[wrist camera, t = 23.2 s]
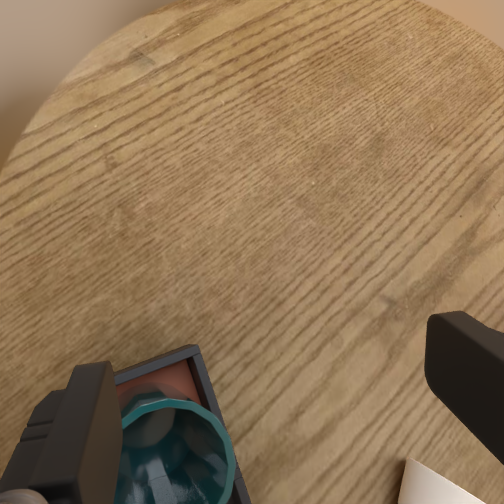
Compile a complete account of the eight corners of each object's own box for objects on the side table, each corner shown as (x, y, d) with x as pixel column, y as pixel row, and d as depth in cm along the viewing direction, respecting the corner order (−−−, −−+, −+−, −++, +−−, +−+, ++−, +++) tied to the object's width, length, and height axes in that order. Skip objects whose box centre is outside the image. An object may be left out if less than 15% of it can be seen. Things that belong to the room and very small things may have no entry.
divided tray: (63, 391, 29) (56, 397, 25) (189, 344, 32) (198, 344, 29) (143, 654, 27) (147, 698, 24) (267, 578, 30) (286, 607, 27)
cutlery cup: (88, 479, 28) (75, 548, 18) (112, 375, 29) (112, 390, 20) (187, 488, 29) (222, 556, 20) (205, 389, 31) (245, 409, 21)
